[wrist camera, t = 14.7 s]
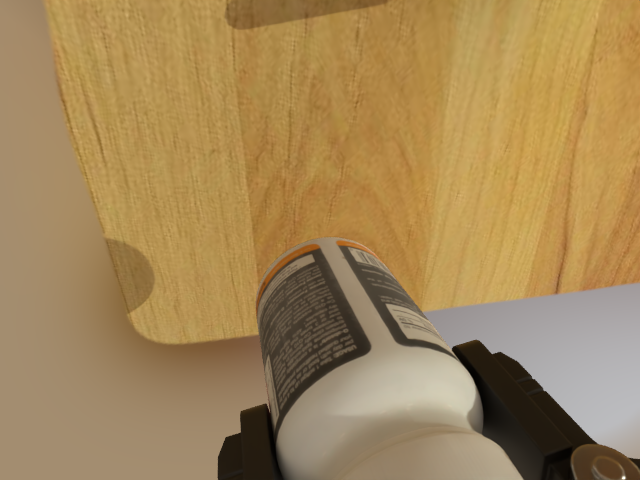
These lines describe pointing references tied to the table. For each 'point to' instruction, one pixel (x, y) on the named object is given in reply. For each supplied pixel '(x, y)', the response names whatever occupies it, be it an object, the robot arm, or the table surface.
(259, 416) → the robot arm
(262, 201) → the table surface
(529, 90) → the table surface
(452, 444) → the pill bottle
